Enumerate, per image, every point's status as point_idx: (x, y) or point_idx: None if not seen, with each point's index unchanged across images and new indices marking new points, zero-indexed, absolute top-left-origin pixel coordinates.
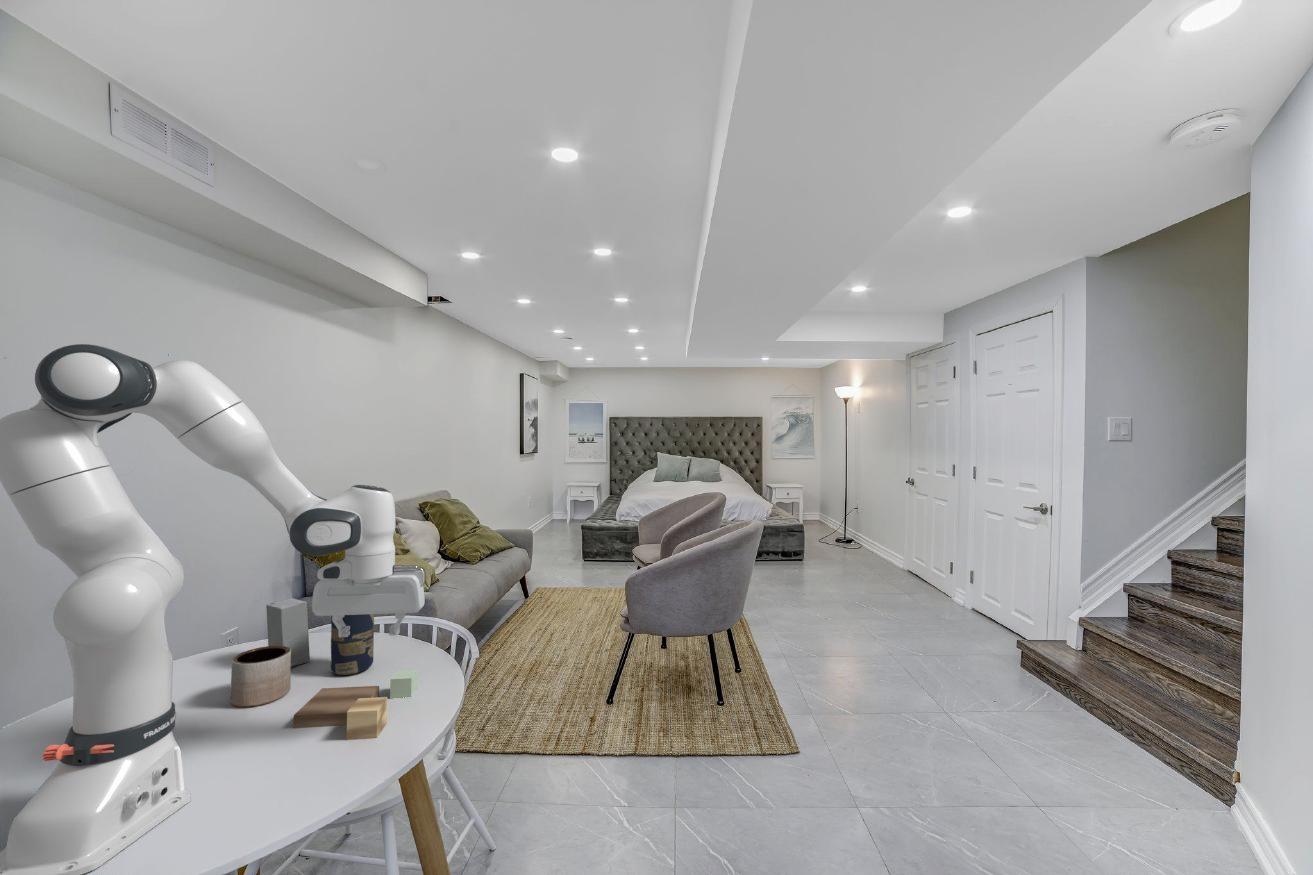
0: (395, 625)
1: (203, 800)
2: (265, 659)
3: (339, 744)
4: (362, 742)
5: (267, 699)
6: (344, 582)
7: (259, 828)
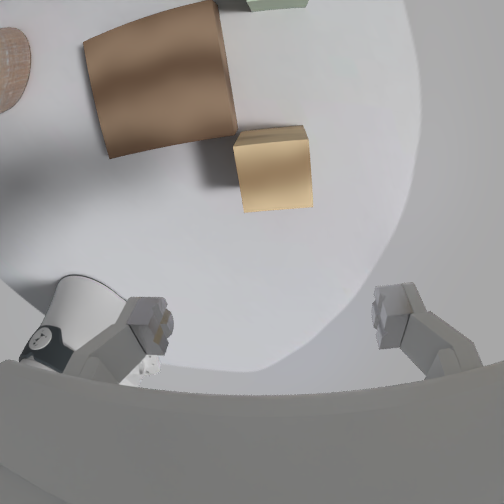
0: (410, 352)
1: None
2: None
3: None
4: None
5: (21, 90)
6: None
7: (256, 347)
